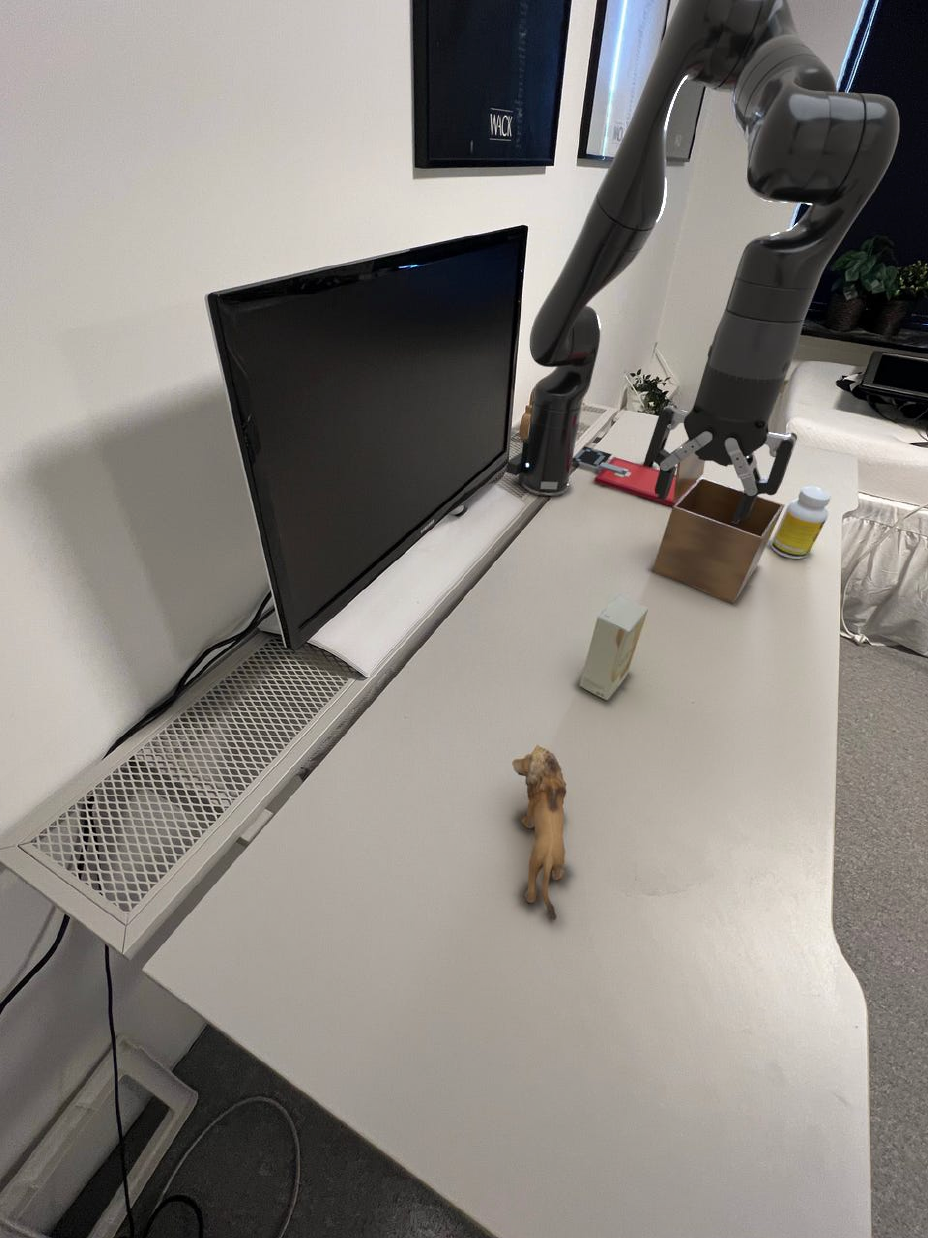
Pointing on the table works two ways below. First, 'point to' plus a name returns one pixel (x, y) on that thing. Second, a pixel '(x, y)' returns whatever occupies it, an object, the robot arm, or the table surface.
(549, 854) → the lion figurine
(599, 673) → the cosmetic box
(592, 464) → the red board with handle
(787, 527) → the pill bottle
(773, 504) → the carton
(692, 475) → the flap
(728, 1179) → the table surface
